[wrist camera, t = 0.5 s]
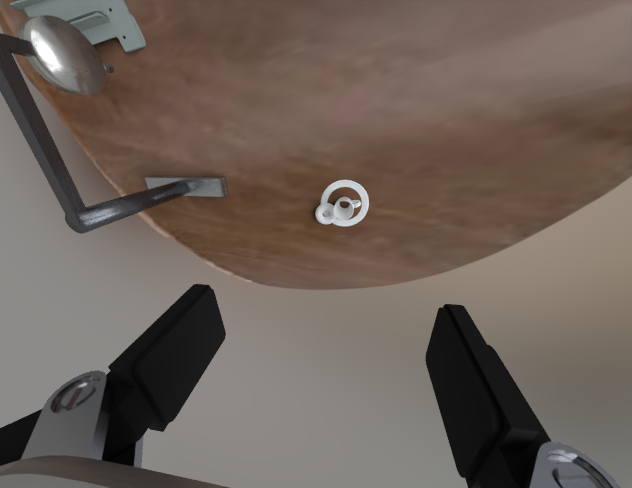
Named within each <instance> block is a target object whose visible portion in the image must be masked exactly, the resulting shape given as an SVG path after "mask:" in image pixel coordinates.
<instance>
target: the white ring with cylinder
mask: <svg viewBox="0 0 632 488" xmlns="http://www.w3.org/2000/svg"><path fill="white" fill-rule="evenodd" d="M340 187H350V188H353V189H354V190H356V191H357V192H358V193H359V195H360V196H361V199H362V208H361V211H360V212H359V214H358V215H357V216H356V217H354V218H353V219H350V220H346V219H349V218H350V217H351V216H352V215H353V212H354V208H356V207H359V206H360V205H361V202H360V201H359V200H352V201H351V200H350V199H349V198H348V197H341V198H339V199H338V200H337V201H336V203H335V205H334V206H333V205H332V204H330V203H327V201H328V198H329V195H330V194H331V193H332V192H333V191H334V190H335V189H337V188H340ZM340 201H347V202H349V203H350V205H349V206H348V207H347V208H342V207H341V206H340ZM353 203H357V204H353ZM368 207H369V199H368V195H367V193H366V191H365V190H364V188H363V187H362V186H361V185H359V184H358V183H356V182H354V181H351V180H339V181H336V182H334V183H332V184H331V185H329V186H328V187H327V188H326V189H325V191H324V193H323V195H322V198H321V205H319V206H318V207H317V209H316V212H315V215H316V219H317V220H318V221H319V222H320V223H322V224H331V223H333V224H335V225H338V226H351V225H354V224H356V223H358V222H359V221H361V220H362V219H363V218H364V216H365V215H366V213H367V211H368ZM323 214H324V216H325V217H324V216H323ZM336 217H337V218H338V219H336ZM339 219H340V220H339Z"/></svg>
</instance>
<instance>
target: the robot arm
mask: <svg viewBox="0 0 632 488" xmlns="http://www.w3.org/2000/svg"><path fill="white" fill-rule="evenodd" d="M225 335H226V333H225V329H224V325H223V321H222V318H221V314H220V311H219V308H218V304H217V300H216V297H215V293H214V290H213V289H211V287H210V286H209V285H202V284H195V285H193V286H192V287H191V288H190V289H189V290H188V291H186V293H184V294H183V295H182V296H181V297H180V298H179V299H178V300H177V301H176V302H175V303H174V304H173V305H172V306H171V307H170V308H169V309H168V310H167V311H166V312H165V313H164V314H163V315H161V317H159V318H158V319H157V320H156V321H155V322H154V323H153V324H152V325H151V326H150V327H149V328H148V329H147V330H146V331H145V332H144V333H143V334H142V335H141V336H140V337H139V338H138V339H136V340H135V342H133V343H132V344H131V345H130V346H129V347H128V348H127V349H126V350H125V351H124V352H123V353H122V354H121V355H120V356H119V357H118V358H117V359H116V360H115V361H114V362H113V363H112V364H110V365H109V366H108V367H109V369H110V370H111V371H110V372H109V373H108V374H107V375H106V374H105V373H104V372H101V371H91V372H87V373H84V374H81V375H79V376H77V377H75V378H73V379H72V380H70V381H68V382H67V383H65V384H64V385H62V386H61V387H60V388H59V389H58V390H57V391H55V393H53V394H52V396H51V397H50V398H49V399H48V400H47V402H46V404H45V405H44V407H43V409H41V410H39V411H37V412H35V413H32V414H30V415H28V416H26V417H24V418H21V419H19V420H17V421H15V422H13V423H11V424H8V425H6V426H4V427H2V428H0V488H229V487H224V486H220V485H215V484H211V483H206V482H202V481H197V480H192V479H188V478H183V477H179V476H174V475H170V474H165V473H161V472H156V471H151V470H147V469H142V468H141V462H142V447H143V435H144V433H145V432H146V430H147V429H148V428H149V429H151V430H157V431H162V432H163V431H164V430H165V428H166V427H167V425H168V423H169V422H172V421H173V420H174V419H175V418H176V416H177V415H178V413H179V411H180V410H181V408H182V406H183V405H184V403H185V402H186V400H187V399H188V397H189V395H190V394H191V392H192V391H193V389H194V387H195V386H196V384H197V383H198V381H199V379H200V378H201V376H202V375H203V373H204V371H205V370H206V368H207V366H208V365H209V363H210V362H211V360H212V358H213V357H214V355H215V354H216V352H217V351H218V349H219V347H220V346H221V344H222V343H223V341H224V339H225ZM426 365H427V368H428V371H429V375H430V379H431V381H432V385H433V389H434V392H435V396H436V399H437V402H438V406H439V409H440V413H441V416H442V419H443V423H444V426H445V430H446V433H447V437H448V440H449V443H450V447H451V450H452V454H453V457H454V460H455V463H456V467H457V470H458V472H459V475H460V476H461V477H463V478H465V479H466V482H467V485H468V488H620V486H619V485H618V484H617V483H616V482H615V480H614V479H613V478H612V477H611V476H610V475H609V474H608V473H607V472H606V471H605V470H604V469H603V468H602V467H601V466H600V465H599V464H598V463H596V462H595V461H594V460H592V459H591V458H589V457H588V456H587V455H586V454H584V453H582V452H581V451H579V450H577V449H575V448H573V447H571V446H569V445H566V444H563V443H560V442H551V440H550V438H549V437H548V435H547V433H546V432H545V430H544V428H543V427H542V425H541V424H540V422H539V420H538V419H537V417H536V415H535V414H534V413H533V411H532V409H531V407H530V406H529V404H528V403H527V401H526V399H525V398H524V396H523V395H522V393H521V391H520V390H519V388H518V387H517V385H516V383H515V382H514V380H513V378H512V377H511V375H510V374H509V372H508V370H507V369H506V367H505V366H504V364H503V362H502V361H501V359H500V358H499V356H498V354H497V353H496V351H495V350H494V349H493V348H492V347H491V346H490V345H487V344H486V342H485V340H484V339H483V337H482V335H481V334H480V332H479V330H478V329H477V327H476V326H475V324H474V322H473V320H472V319H471V317H470V315H469V314H468V312H467V310H466V309H465V307H464V306H462V305H452V304H445V305H444V307H443V308H439V309H438V313H437V317H436V320H435V324H434V327H433V331H432V334H431V338H430V342H429V345H428V349H427V352H426Z"/></svg>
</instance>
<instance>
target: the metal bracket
mask: <svg viewBox="0 0 632 488" xmlns="http://www.w3.org/2000/svg"><path fill="white" fill-rule="evenodd" d="M10 5H11V7H13V8H15V9H18V10H20V11H22V12H25V13H26V14H27V15H28V17H35V16H44V15H50V16H55V17H59V18H61V19H63V20H65V21H67V22H69V23H70V24H71V25H73V26H74V27H76V28H77V29H78V30H79V31H80V32H81V33H82V34H83V35H84V36H85V37H86V38H87V39H88V40H89V41H90V42H91V44H92V45H95V44H97V43H100V42H103V41H106V40H109V39H112V38H115V37H117V38H118V39H119V41H120V43H121V45H122V47H123V49H124V50H125V51H126V52H128V53H129V52H132V51H135V50H138V49H140V48H143V47H145V46H146V43H145V39H144V37H143V35H142V33H141V31H140V29H139V27H138V25H137V23H136V21H135V18H134V16H132V15H131V14H130V12H129V10H128V8H127V6H126V4H125V2H124V0H18V1H16V2H12V3H10ZM110 9H112V12H110ZM124 36H125V37H126V39H124Z"/></svg>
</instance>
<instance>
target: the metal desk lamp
mask: <svg viewBox="0 0 632 488" xmlns="http://www.w3.org/2000/svg"><path fill="white" fill-rule="evenodd" d="M11 53H13V54H18V55H23V56H26V58H27V59H28V61H29V62H30V64H31V65H32V66H33V67H34V69H35V70H36V71H37V72H38V73H39V74H40V75H41V76H42V77H43V78H44V79H46V80H47V81H48V82H49V83H51V84H52V85H54V86H55V87H57V88H58V89H60V90H62V91H65V92H67V93H70V94H75V95H85V94H96V93H99V92H100V91H102V90H103V88H104V86H105V84H106V72H109V73H113V72H114V68H113V67H112V66H111V65H109V64H105V63H103V62H102V60H101V58H100V56H99V54H98V52H97V51H96V49H95V48H94V46H93V45H92V44H91V42H90V41H89V40H88V39H87V38H86V37H85V36H84V35H83V34H82V33H81V32H80V31H79V30H78V29H77V28H76V27H74V26H73V25H71V24H70V23H69V22H67V21H65V20H63V19H61V18H59V17H55V16H50V15H44V16H35V17H28V18H25V19H24V20H22V21H21V23H20V25H19V27H18V38H16V37H12V36H9V35H5V34H0V91H1V93H2V95H3V97H4V99H5V101H6V103H7V104H8V106H9V108H10V110H11V112H12V114H13V116H14V118H15V120H16V121H17V123H18V125H19V127H20V129H21V131H22V133H23V135H24V137H25V138H26V140H27V142H28V144H29V146H30V148H31V150H32V152H33V154H34V156H35V157H36V159H37V161H38V163H39V165H40V167H41V169H42V171H43V172H44V174H45V176H46V178H47V180H48V182H49V184H50V186H51V188H52V190H53V191H54V193H55V195H56V197H57V199H58V201H59V203H60V205H61V206H62V208H63V210H64V212H65V214H66V215H65V220H66V222H67V224H68V225H69V227H70V228H72V229H73V230H74V231H76V232H78V233H86V232H88V231H91V230H93V229H96V228H99V227H101V226H104V225H107V224H109V223H112V222H115V221H117V220H120V219H122V218H125V217H128V216H130V215H133V214H135V213H138V212H141V211H143V210H146V209H149V208H151V207H154V206H156V205H159V204H162V203H164V202H167V201H169V200H172V199H175V198H177V197H180V196H209V197H224V196H226V195H228V194H229V193H228V188H227V183H226V177H216V176H149V177H145V181H146V184H147V187H148V190H144V191H141V192H138V193H134V194H131V195H127V196H124V197H120V198H117V199H113V200H110V201H107V202H103V203H100V204H96V205H93V206H89V207H85V205H84V203H83V201H82V199H81V197H80V195H79V193H78V191H77V189H76V187H75V185H74V182H73V181H72V178H71V176H70V174H69V172H68V170H67V168H66V166H65V164H64V162H63V160H62V158H61V156H60V153H59V152H58V149H57V147H56V145H55V143H54V141H53V139H52V137H51V135H50V133H49V131H48V129H47V126H46V124H45V122H44V120H43V118H42V116H41V114H40V112H39V110H38V108H37V106H36V104H35V102H34V99H33V97H32V95H31V93H30V91H29V89H28V87H27V85H26V83H25V81H24V79H23V77H22V75H21V73H20V70H19V68H18V66H17V64H16V62H15V60H14V58H13V56H12V54H11Z"/></svg>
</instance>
